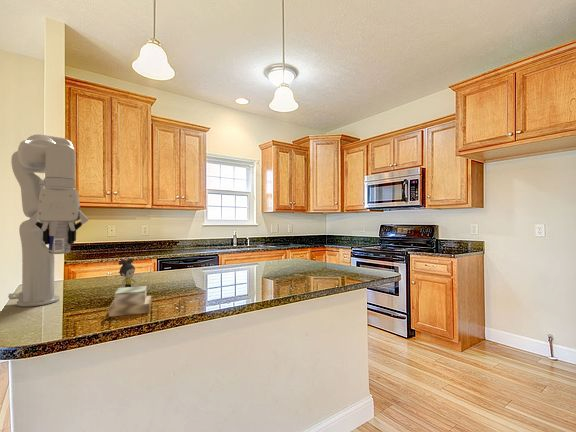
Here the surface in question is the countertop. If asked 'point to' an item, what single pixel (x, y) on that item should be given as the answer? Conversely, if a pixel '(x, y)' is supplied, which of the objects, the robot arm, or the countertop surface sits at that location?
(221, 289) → the countertop surface
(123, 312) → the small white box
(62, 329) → the countertop surface
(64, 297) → the countertop surface
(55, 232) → the energy drink
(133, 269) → the toy
